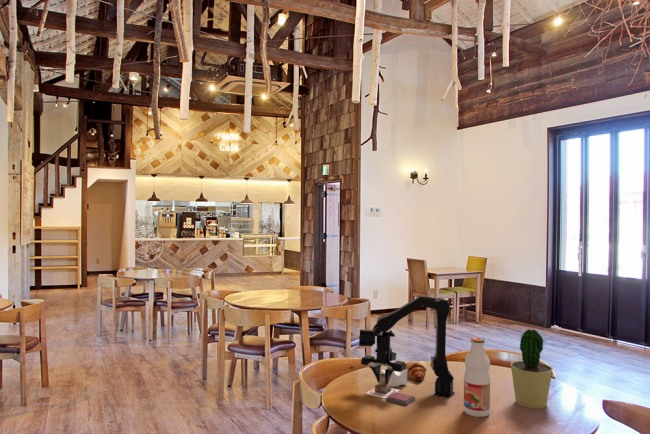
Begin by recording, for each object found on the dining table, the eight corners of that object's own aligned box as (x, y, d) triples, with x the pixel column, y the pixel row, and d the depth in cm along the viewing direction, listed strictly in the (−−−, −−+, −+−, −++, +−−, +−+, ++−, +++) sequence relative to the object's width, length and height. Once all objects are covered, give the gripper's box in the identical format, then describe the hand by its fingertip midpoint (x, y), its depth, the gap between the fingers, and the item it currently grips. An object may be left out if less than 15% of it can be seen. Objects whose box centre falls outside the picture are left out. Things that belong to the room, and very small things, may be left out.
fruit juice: (494, 417, 185) (495, 341, 185) (469, 418, 184) (470, 342, 184) (483, 407, 194) (484, 335, 194) (460, 408, 193) (460, 335, 193)
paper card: (399, 390, 212) (399, 389, 212) (387, 399, 202) (387, 398, 202) (378, 386, 218) (378, 385, 218) (365, 394, 208) (365, 393, 208)
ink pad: (415, 399, 202) (415, 395, 202) (406, 405, 195) (406, 402, 195) (394, 395, 207) (394, 391, 207) (386, 400, 200) (386, 397, 200)
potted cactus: (527, 412, 190) (528, 333, 190) (502, 398, 205) (503, 324, 204) (561, 408, 194) (562, 331, 194) (534, 395, 209) (535, 323, 209)
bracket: (406, 386, 218) (407, 369, 218) (391, 387, 217) (391, 370, 217) (396, 377, 231) (396, 360, 231) (381, 377, 230) (382, 361, 230)
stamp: (391, 390, 211) (391, 374, 211) (385, 394, 206) (385, 377, 206) (380, 388, 213) (380, 372, 213) (374, 391, 209) (375, 375, 209)
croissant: (403, 376, 243) (396, 361, 243) (421, 366, 244) (414, 351, 243) (414, 390, 222) (406, 374, 222) (434, 379, 222) (426, 363, 222)
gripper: (411, 345, 211) (411, 382, 211) (372, 339, 222) (372, 374, 222) (400, 351, 202) (400, 390, 202) (360, 344, 212) (360, 381, 212)
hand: (383, 383), depth 210 cm, fingers closed on stamp, 3 cm apart
